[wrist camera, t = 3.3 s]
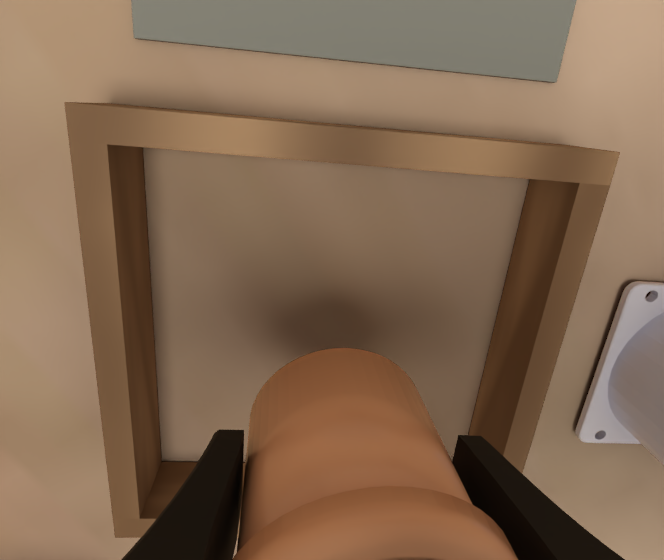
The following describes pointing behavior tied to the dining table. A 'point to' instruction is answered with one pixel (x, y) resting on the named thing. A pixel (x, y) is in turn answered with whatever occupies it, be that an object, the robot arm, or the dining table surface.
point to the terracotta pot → (354, 470)
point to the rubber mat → (376, 31)
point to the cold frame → (322, 146)
